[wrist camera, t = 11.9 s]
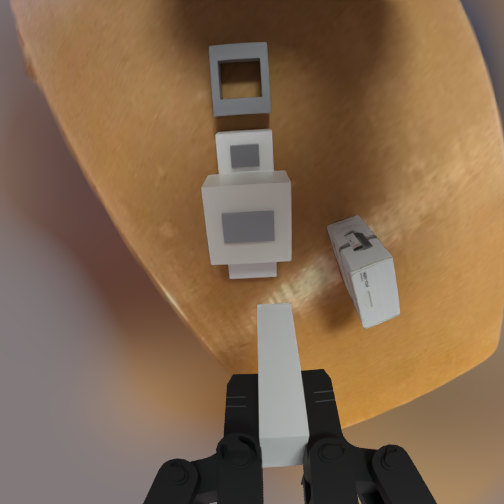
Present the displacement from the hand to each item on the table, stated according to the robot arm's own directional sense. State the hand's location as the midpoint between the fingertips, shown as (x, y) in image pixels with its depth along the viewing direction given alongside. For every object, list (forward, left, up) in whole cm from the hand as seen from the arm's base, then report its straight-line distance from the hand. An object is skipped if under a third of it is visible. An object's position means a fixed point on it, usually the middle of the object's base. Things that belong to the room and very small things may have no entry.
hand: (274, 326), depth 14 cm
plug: (+2, -1, -25) cm, 25 cm away
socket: (+3, -1, -25) cm, 26 cm away
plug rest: (-12, -1, -25) cm, 28 cm away
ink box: (+10, +12, -26) cm, 30 cm away
